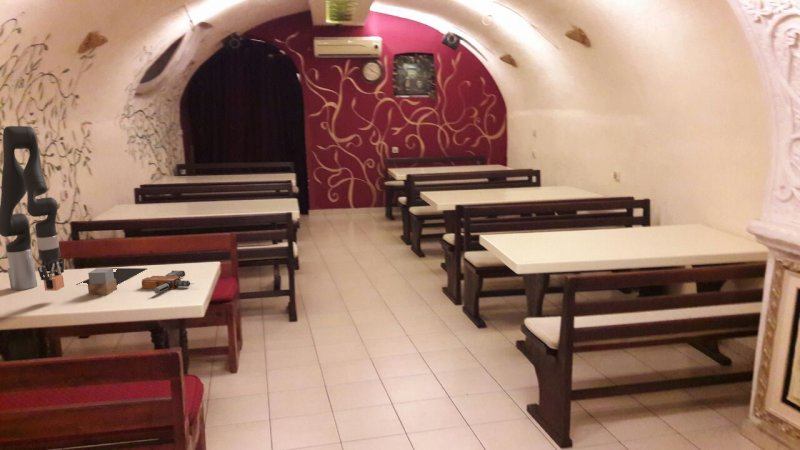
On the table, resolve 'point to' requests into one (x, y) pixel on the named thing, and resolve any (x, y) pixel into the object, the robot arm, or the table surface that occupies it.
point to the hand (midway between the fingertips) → (54, 286)
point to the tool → (165, 282)
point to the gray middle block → (101, 276)
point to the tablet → (123, 274)
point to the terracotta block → (55, 283)
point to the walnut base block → (102, 288)
